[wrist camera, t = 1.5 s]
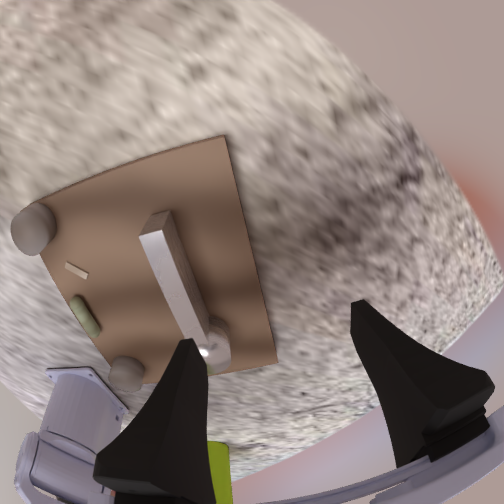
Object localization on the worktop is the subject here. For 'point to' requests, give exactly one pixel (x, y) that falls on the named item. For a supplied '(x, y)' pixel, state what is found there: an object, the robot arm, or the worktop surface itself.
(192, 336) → the lever handle
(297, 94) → the worktop surface
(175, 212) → the brown latch board
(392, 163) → the worktop surface
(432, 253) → the worktop surface
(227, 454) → the soap dispenser
